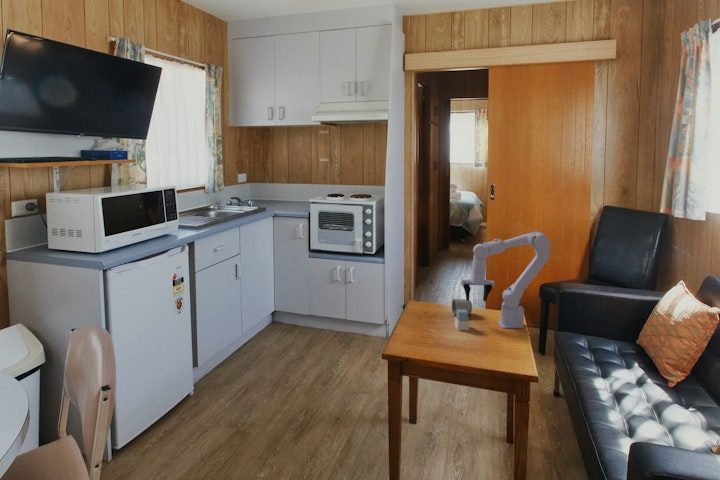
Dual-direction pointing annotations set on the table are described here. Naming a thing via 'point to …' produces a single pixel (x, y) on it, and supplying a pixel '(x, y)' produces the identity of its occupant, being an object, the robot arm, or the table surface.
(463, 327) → the cream block
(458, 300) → the ceramic mug
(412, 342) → the table surface
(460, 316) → the blue cube
